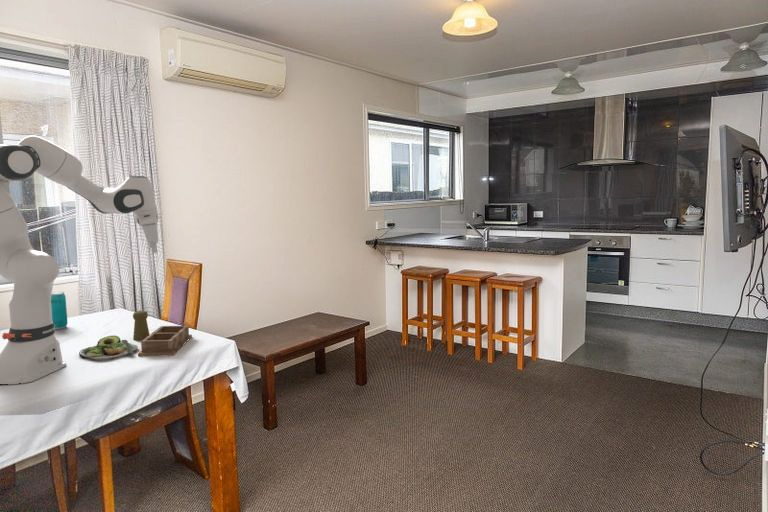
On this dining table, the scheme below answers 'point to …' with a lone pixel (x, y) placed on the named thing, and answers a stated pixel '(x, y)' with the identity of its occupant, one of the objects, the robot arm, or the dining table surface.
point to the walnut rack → (164, 341)
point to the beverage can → (59, 310)
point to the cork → (140, 325)
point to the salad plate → (108, 349)
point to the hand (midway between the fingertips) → (153, 249)
